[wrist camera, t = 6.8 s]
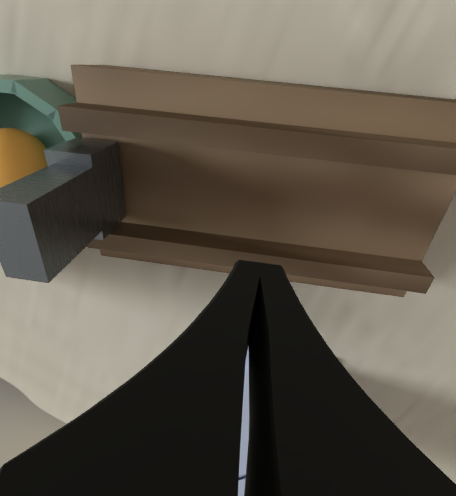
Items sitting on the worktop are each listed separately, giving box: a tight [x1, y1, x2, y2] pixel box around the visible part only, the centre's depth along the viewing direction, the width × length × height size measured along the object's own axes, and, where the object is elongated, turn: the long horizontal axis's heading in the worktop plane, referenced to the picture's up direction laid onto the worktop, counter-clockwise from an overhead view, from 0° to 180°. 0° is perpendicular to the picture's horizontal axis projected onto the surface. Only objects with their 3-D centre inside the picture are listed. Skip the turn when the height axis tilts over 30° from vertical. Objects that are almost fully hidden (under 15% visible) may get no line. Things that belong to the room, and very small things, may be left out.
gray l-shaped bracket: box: [0, 137, 126, 283], centre depth 13 cm, size 4×2×7 cm, turn 176°
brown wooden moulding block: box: [58, 65, 456, 297], centre depth 16 cm, size 10×18×4 cm, turn 86°
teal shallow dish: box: [0, 74, 82, 148], centre depth 18 cm, size 8×8×2 cm
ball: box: [0, 128, 47, 188], centre depth 17 cm, size 4×4×4 cm
